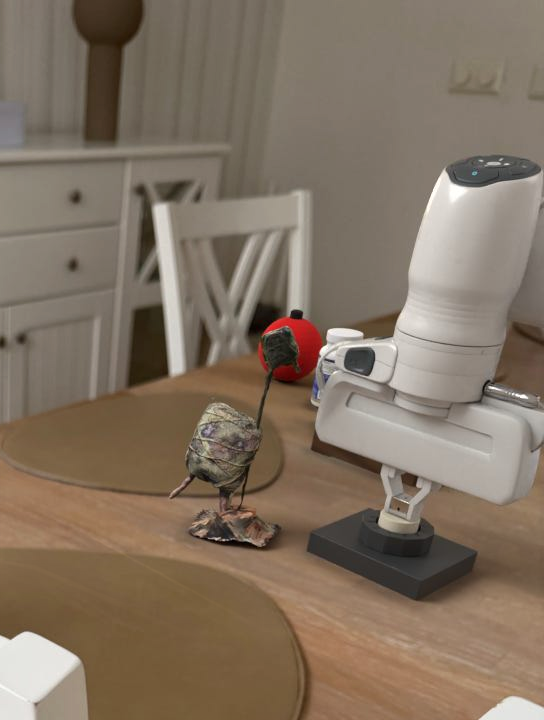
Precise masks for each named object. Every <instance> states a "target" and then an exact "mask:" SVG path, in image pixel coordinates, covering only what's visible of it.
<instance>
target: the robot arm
mask: <svg viewBox="0 0 544 720" xmlns="http://www.w3.org/2000/svg"><path fill="white" fill-rule="evenodd" d="M543 186H544V169H543V168H542V166H541V165H540V164H538V163H537V162H534V161H532V160H530V159H528V158H525V157H522V156H515V155H507V154H489V155H472V156H467V157H462V158H459V159H458V160H456V161H454V162H452V163H449V164H448V165H446V166H445V167H444V168H443V170H442V171H441V173H440V174H439V177H438V178H437V180H436V182H435V184H434V187H433V189H432V191H431V194H430V197H429V200H428V202H427V204H426V208H425V210H424V213H423V215H422V219H421V221H420V226H419V229H418V232H417V236H416V239H415V242H414V246H413V250H412V255H411V259H410V263H409V268H408V271H407V281H408V289H407V297H406V301H405V304H404V306H403V308H402V310H401V312H400V313H399V315H398V317H397V320H396V323H395V326H394V330H393V331H394V332H393V334H387V335H382V336H377V337H376V336H375V337H370V338H363V340H359V341H355V342H352V343H348V344H345V345H343V346H340V347H339V348H338V349H337V352H336V355H335V366H336V367H337V368H338V369H339V370H338V371H336V372H334V373H333V374H332V375H331V376H330V377H329V379H328V380H327V382H326V385H325V388H324V391H323V394H322V397H321V401H320V404H319V408H318V407H317V408H318V409H317V413H316V417H315V418H316V419H315V423H314V430H315V429H316V432H317V435H318V437H319V439H320V441H322V442H325V443H328V444H331V445H333V446H336V447H339V448H342V449H344V450H347V451H350V452H353V453H355V454H358V455H361V456H364V457H366V458H369V459H372V460H375V461H377V462H380V463H383V465H382V469H381V473H380V474H381V475H380V477H381V480H382V485H383V488H384V492H385V495H386V497H385V503H384V506H383V509H384V511H385V512H387V513H390V514H393V515H396V516H398V517H400V518H403V519H405V520H408V521H410V522H413V521H416V520H418V519H419V518H420V517H421V516H422V514H423V510H424V506H425V502H428V500H429V499H430V498H431V497H433V496H434V495H435V494H436V493H437V492H438V491H439V490H440V489H441V488H442V486H444V487H447V488H449V489H452V490H455V491H457V492H460V493H463V494H466V495H468V496H471V497H474V498H476V499H480V500H483V501H485V502H488V503H491V504H492V505H496V506H498V507H506V506H509V505H512V504H514V503H516V502H519V501H520V500H522V499H523V498H525V497H526V496H528V495H529V494H530V492H532V491H531V490H532V489H533V486H534V481H535V478H536V474H537V469H538V465H539V461H540V454H541V448H542V446H543V445H544V401H542V397H540V396H539V395H538V394H536V393H533V392H529V391H521V390H518V389H516V388H513V387H511V386H508V385H505V384H502V383H498V382H495V381H494V379H495V376H496V372H497V369H498V365H499V363H500V359H501V355H502V352H503V348H504V345H505V341H506V338H507V320H509V321H510V322H514V323H518V324H522V325H527V326H531V327H535V328H540V329H544V197H543V196H542V194H543V193H542V192H543V188H544V187H543ZM538 407H539V408H540V409H539V408H538ZM406 472H408V473H410V474H413V475H416V476H418V480H417V484H416V488H418V489H421V490H419V491H418V492H417V493H416V494H415V495H414V496H413V495H410V494H407V493H405V491H404V486H403V483H402V481H401V475H402V474H404V473H406Z"/></svg>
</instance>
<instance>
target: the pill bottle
mask: <svg viewBox="0 0 544 720" xmlns="http://www.w3.org/2000/svg"><path fill="white" fill-rule="evenodd" d="M364 336H365V335H364V333H363V332H362V331H359V330H356V329H352V328H346V327H345V328H344V327H334V328H329V329H328V330H327V333H326V336H325V337H326V339H325V341H326V345H323V346H322V349H321V350H320V353H319V358H318V362H319V359H320V358H321V356H322V354H323V353H324V352H325V350H326V349H328V348H329V347H330V346H332V345H333V344H335V343H338V342H341V341H353V342H354V341H359V340H364ZM336 352H337V350H335V351H333V352H331V353H330V354H329V355H328V356H326V358H325V359H324V360H323V362H322V363H323V366H322V370H323V376H324V381H325V384H326V382H327V380H328V379H329V377H330V376H331V375H332V374H333V373H334V372H336V371H338V370H339V369H338V368H337V367H336V366H335V355H336ZM316 368H318V363H317V366H316ZM313 380H314V382H313V385H312V391H311V396H310V402H311V404H312V406H314V407H316V408H319V404H320V401H321V397H322V395H321V393H320V391H319V388H318V384H317V379H316V373H315V374H314V379H313Z"/></svg>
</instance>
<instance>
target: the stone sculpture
mask: <svg viewBox="0 0 544 720" xmlns="http://www.w3.org/2000/svg"><path fill="white" fill-rule="evenodd" d="M262 335H263V334H262ZM259 343H261V347H262V355H263V358H264V362H265V365H266V366H269V370H268V373H267V372H266V373H267V374H266V376H265V384H264V389H263V393H262V395H261V399H260V403H259V406H258V410H257V411H258V412H257V419H256V418H255V417H253V416H250V415H249V414H247V413H244V412H241V411H239V410H238V409H235V408H233V407H231V406H229V405H228V404H227V403H223V402H211V403H209V404H208V405H207V406H206V408H205V410H204V411H203V414H202V415H201V418H200V419H199V421H198V422H197V425H196V426H195V429H194V433H193V435H192V437H191V439H190V441H189V444H188V448H187V450H186V453H185V459H184V460H185V461H184V462H185V468H186V469H187V470H188V471H189V474H188V475H187V476H186V477H185V478H184V480H182V481H181V483H179V486H178V487H177V488H176V489H174V490H173V491H172V492H171V493H170V495H169V496H168V499H170V500H174V498H175V497H177V496H178V495H180V493H181V492H183V491H184V490H185V489H186V488H187V487H188V486H189V485H190V484H191V483H192V482H194V480H195V478H197V479H199V480H200V481H203V482H205V483H208V484H210V485H211V486H212V487H213V488H216V489H218V490H219V493H218V496H219V509H216V510H215V509H214V508H212V509H203V508H202V511H200V512H197V515H196V516H195V517H196V518H195V519H194V522H193V523H191V524H190V525H191V526H190V527H189V528H186V532H187V533H188V534H191V536H194V537H195V536H196V537H197V536H199V538H204V539H208V540H215V541H219V542H221V541H222V542H226V541H227V542H228V541H232V540H235V541H237V542H247V543H251V544H252V545H255V546H257V547H258V548H261V547H264V546H266V545H267V546H268V544H267V543H269V542H271V540H270V539H271V538H274V537H276V535H275V534H278V531H283V528H282V526H280V525H279V524H278V523H276V524H275V523H273V522H266V521H265V520H262V518H260V517H259V516H258V515H257V508H256V507H253V506H250V505H243V502H244V498H245V493H246V487H247V483H248V479H249V475H250V468H251V466H252V463H253V462H254V461H255V456H256V454H257V452H258V451H259V449H260V446H261V442H262V440H263V437H264V435H263V427H262V426H261V421H262V416H263V412H264V407H265V404H266V403H265V402H266V398H267V393H268V391H269V390H270V386H271V382H272V379H273V378H274V377H273V372H274V370H275V369H277V368H279V367H280V366H286V367H288V366H289V365H291V366H292V367H294V369H295V371H296V372H297V373H300V372H301V370H300V368H299V365H298V363H297V359H298V357H299V350H298V348H299V347H298V345H297V343H296V340H295V337H294V334H293V332H292V330H291V328H289V327H288V326H284V327H282V328H280V329H276V330H274V331H270V332H268V333H267V334H264V335H263V336H261V338H260V340H259ZM210 399H211V400H215V399H216V397H210ZM240 486H242V487H241V494H240V495H241V497H240V498H241V499H240V501H241V502H240V504H232V501H233V498H234V494H235V491H236V490H238V489H239V488H240Z"/></svg>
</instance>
